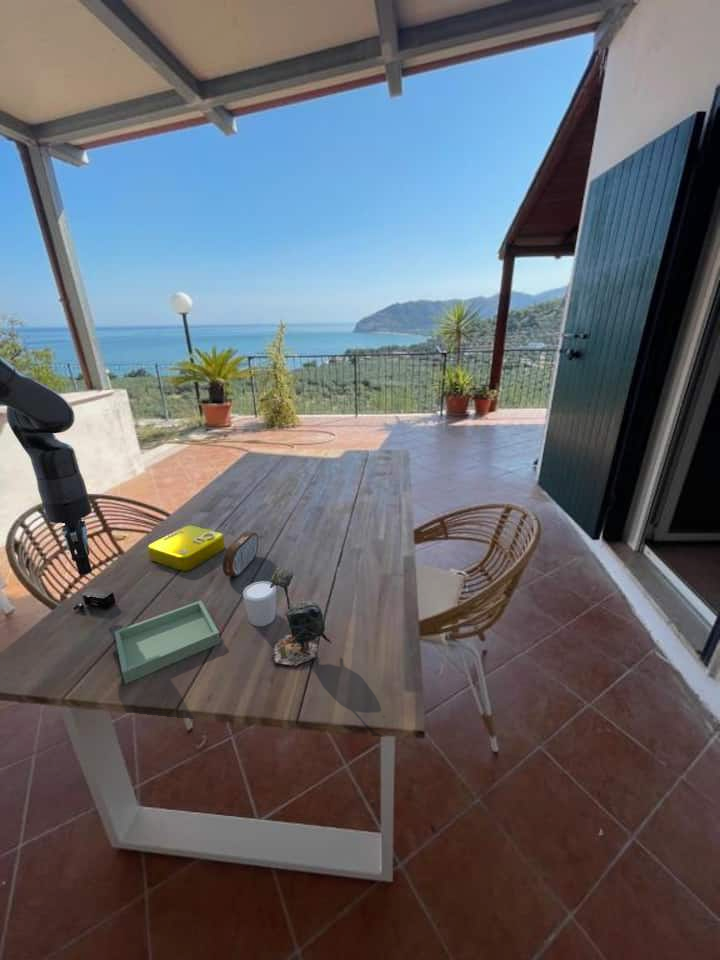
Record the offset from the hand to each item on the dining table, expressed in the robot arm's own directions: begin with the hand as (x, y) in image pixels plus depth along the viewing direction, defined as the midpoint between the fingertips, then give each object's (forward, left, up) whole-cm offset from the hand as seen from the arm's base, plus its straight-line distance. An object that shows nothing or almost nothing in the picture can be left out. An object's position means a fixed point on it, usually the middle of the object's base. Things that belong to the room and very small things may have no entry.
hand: (85, 564), depth 84 cm
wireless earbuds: (0, 0, -11) cm, 11 cm away
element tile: (+23, +12, -11) cm, 28 cm away
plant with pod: (+31, -40, -11) cm, 52 cm away
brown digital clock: (+33, -4, -11) cm, 35 cm away
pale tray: (+11, -22, -11) cm, 27 cm away
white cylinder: (+29, -26, -11) cm, 40 cm away
